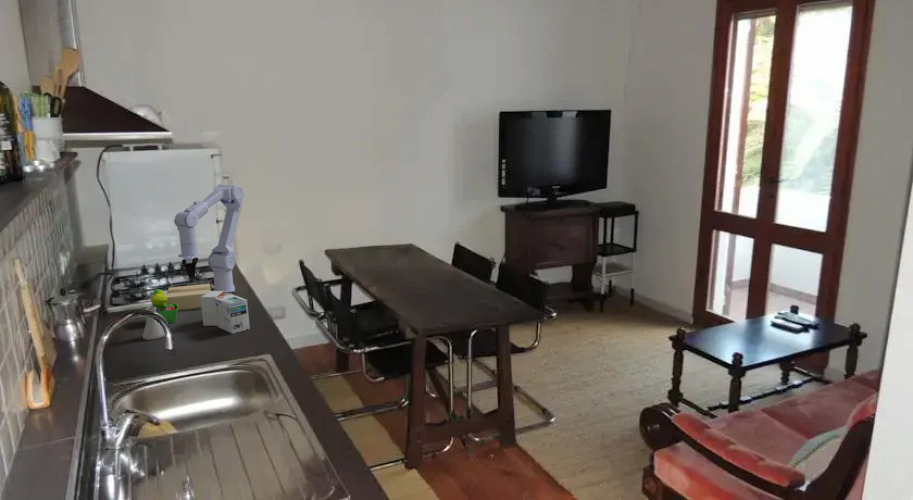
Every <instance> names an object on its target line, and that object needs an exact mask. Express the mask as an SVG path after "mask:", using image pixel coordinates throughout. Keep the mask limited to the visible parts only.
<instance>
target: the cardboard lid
mask: <svg viewBox="0 0 913 500" xmlns="http://www.w3.org/2000/svg"><path fill="white" fill-rule="evenodd" d="M210 290H211V283H203V284H202V283H201V284H195V285H193V284H191V285H183V286H172V287H168V290H167V293H166V294H165V295H166V297H167V299H171V298H181V297H191V296H200V295H205V294H206V293H208V292H209V291H210Z"/></svg>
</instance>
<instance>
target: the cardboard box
mask: <svg viewBox="0 0 913 500" xmlns="http://www.w3.org/2000/svg"><path fill="white" fill-rule="evenodd" d="M210 291H212V290H211V289H210ZM202 296H203V295H200V296H191V297H181V298H171V299H167V304H178V311H179V312H180V311H188V310H197V309H202V307H201V297H202ZM178 311H177V312H178Z"/></svg>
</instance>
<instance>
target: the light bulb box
mask: <svg viewBox="0 0 913 500" xmlns="http://www.w3.org/2000/svg"><path fill="white" fill-rule="evenodd" d="M215 304H216V313H217V323H218V325H217V328H219V329H221V330H224V331H226V332H227V333H230V334H236V333H240V332H243V331H247V329H248V330H250V328H251V327H250V318H249V307H248V299H246V298H245V297H244V298H243V297H240V296H238V295H235V294H232V293H231V294H226V295H225V296H221V297H216V298H215Z"/></svg>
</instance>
